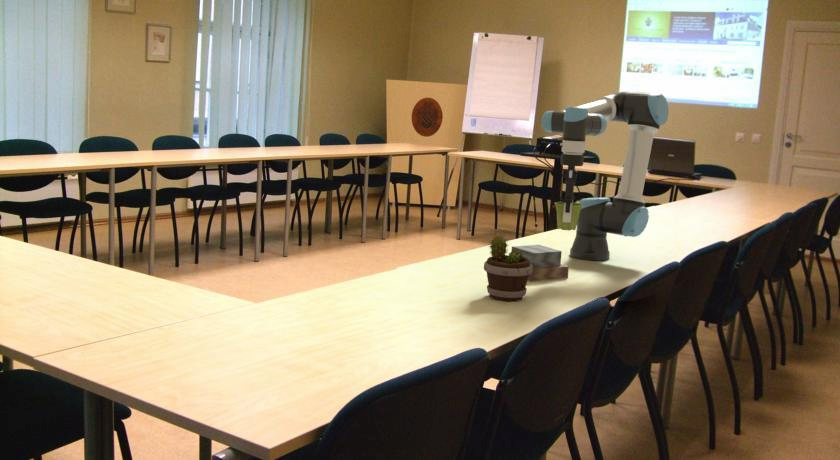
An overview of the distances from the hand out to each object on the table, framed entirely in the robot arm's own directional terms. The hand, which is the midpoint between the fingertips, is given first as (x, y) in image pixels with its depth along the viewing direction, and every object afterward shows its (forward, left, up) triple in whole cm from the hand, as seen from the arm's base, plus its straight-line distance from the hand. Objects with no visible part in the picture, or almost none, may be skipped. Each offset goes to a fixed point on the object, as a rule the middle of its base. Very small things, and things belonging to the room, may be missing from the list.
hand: (567, 220), depth 277 cm
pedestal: (+7, -6, -20) cm, 22 cm away
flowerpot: (+36, +16, -20) cm, 44 cm away
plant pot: (0, 0, -3) cm, 3 cm away
